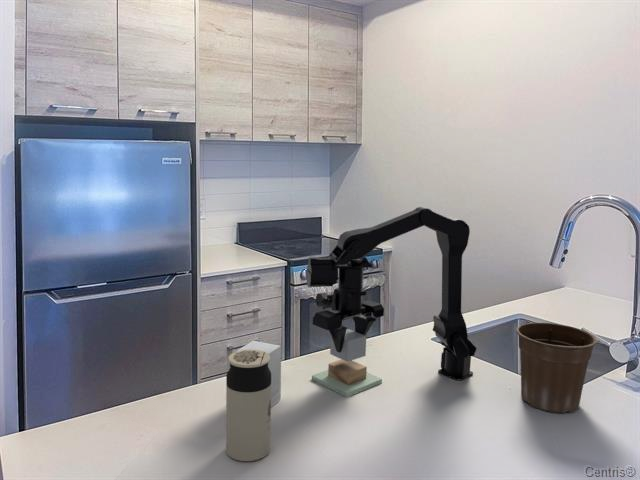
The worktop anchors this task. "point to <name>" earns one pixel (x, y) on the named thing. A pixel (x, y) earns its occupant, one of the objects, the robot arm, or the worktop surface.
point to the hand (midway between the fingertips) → (348, 348)
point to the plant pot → (553, 365)
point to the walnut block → (347, 371)
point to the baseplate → (344, 388)
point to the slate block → (350, 346)
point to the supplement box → (270, 366)
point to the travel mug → (248, 405)
